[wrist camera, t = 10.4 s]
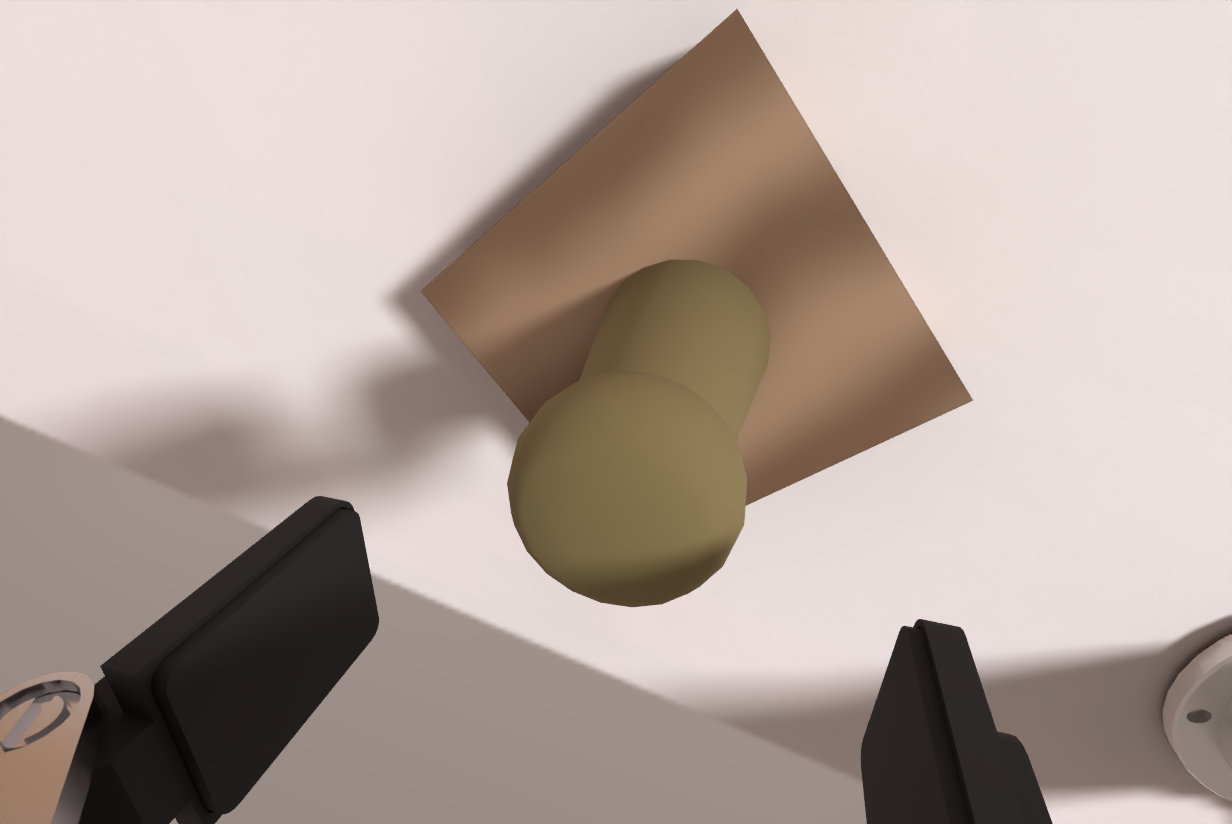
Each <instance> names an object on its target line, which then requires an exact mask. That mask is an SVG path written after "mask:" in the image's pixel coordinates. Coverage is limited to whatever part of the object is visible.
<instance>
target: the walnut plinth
mask: <svg viewBox="0 0 1232 824" xmlns="http://www.w3.org/2000/svg"><path fill="white" fill-rule="evenodd" d="M667 260H700V261H703V262H706V263H708V264H711V265H714V266H717V267H720V268H723V269H726V270H727V271H728V272H730V273H731V274H732V275H734V276H735V277H736V278H737V279H739V280H740V281H741V282H743V283H744V284H745V285H747V286H748V287H749V289H750V290H751V291H752V293H753V294H754V296H755V297H756V299H757V300H758V302H759V303H760V305H761V306H762V308H763V309H764V312H765V316H766V320H767V324H768V328H769V331H770V335H771V339H770V351H769V362H768V365H767V367H766V369H765V372H764V374H763V377H762V379H761V382H760V384H759V387H758V389H757V392H756V394H755V397H754V399H753V401H752V404H751V406H750V409H749V411H748V414H747V416H746V419H745V421H744V424H743V426H742V429H741V431H740V433H739V436H738V438H737V441H736V443H737V445H738V449H739V452H740V455H741V459H742V462H743V465H744V468H745V472H746V475H747V492H746V505H748V504H750V503H753V502H755V501H757V500H759V499H761V498H763V497H766V496H768V495H770V494H772V493H774V492H776V491H778V490H781V489H783V488H785V487H787V486H789V485H791V484H794V483H796V482H798V481H800V480H802V479H804V478H807V477H809V476H811V475H813V474H815V473H817V472H820V471H822V470H824V469H826V468H828V467H830V466H833V465H835V464H837V463H839V462H841V461H843V460H846V459H848V458H850V457H852V456H854V455H856V454H858V453H861V452H863V451H865V450H867V449H869V448H871V447H874V446H876V445H878V444H880V443H882V442H884V441H887V440H889V439H891V438H893V437H895V436H897V435H900V434H902V433H904V432H906V431H908V430H910V429H913V428H915V427H917V426H919V425H921V424H923V423H925V422H928V421H930V420H932V419H934V418H936V417H938V416H941V415H943V414H945V413H947V412H949V411H951V410H954V409H956V408H958V407H960V406H962V405H964V404H967V403H969V402H971V401H973V399H972V398H971V396H970V394H969V393H968V391H967V389H966V388H965V386H964V384H963V383H962V381H961V380H960V378H959V376H958V375H957V373H956V371H955V370H954V368H953V366H952V365H951V363H950V361H949V360H948V358H947V356H946V355H945V353H944V351H943V350H942V348H941V346H940V345H939V343H938V341H937V340H936V338H935V336H934V335H933V333H932V331H931V330H930V328H929V326H928V325H927V323H926V321H925V320H924V318H923V316H922V315H921V313H920V311H919V310H918V308H917V306H916V305H915V303H914V302H913V300H912V298H911V297H910V295H909V293H908V292H907V290H906V288H905V287H904V285H903V283H902V282H901V280H900V278H899V277H898V275H897V273H896V272H895V270H894V268H893V267H892V265H891V263H890V262H889V260H888V258H887V257H886V255H885V253H884V252H883V250H882V248H881V247H880V245H879V243H878V242H877V240H876V238H875V237H874V235H873V233H872V232H871V230H870V228H869V227H868V225H867V223H866V222H865V220H864V219H863V217H862V215H861V214H860V212H859V210H858V209H857V207H856V205H855V204H854V202H853V200H852V199H851V197H850V195H849V194H848V192H847V190H846V189H845V187H844V185H843V184H842V182H841V180H840V179H839V177H838V175H837V174H836V172H835V170H834V169H833V167H832V165H831V164H830V162H829V160H828V159H827V157H826V155H825V154H824V152H823V150H822V149H821V147H820V145H819V144H818V142H817V141H816V139H815V137H814V136H813V134H812V132H811V131H810V129H809V127H808V126H807V124H806V122H805V121H804V119H803V117H802V116H801V114H800V112H799V111H798V109H797V107H796V106H795V104H794V102H793V101H792V99H791V97H790V96H789V94H788V92H787V91H786V89H785V87H784V86H783V84H782V82H781V81H780V79H779V77H778V76H777V74H776V72H775V71H774V69H773V67H772V66H771V64H770V62H769V61H768V59H767V58H766V56H765V54H764V53H763V51H762V49H761V48H760V46H759V44H758V43H757V41H756V39H755V38H754V36H753V34H752V33H751V31H750V29H749V28H748V26H747V24H746V23H745V21H744V19H743V18H742V16H741V14H740V13H739V11H738V9H736V10H735V11H734V12H733V13H732V14H731V15H730V16H729V17H727V18H726V19H725V20H724V21H723V22H722V23H721V24H720V25H719V26H717V27H716V28H715V29H714V30H713V31H712V32H711V33H710V34H708V35H707V36H706V37H705V38H704V39H703V40H702V41H701V42H699V43H698V44H697V45H696V46H695V47H694V48H693V49H692V50H691V51H689V52H688V53H687V54H686V55H685V56H684V57H683V58H682V59H680V60H679V61H678V62H677V63H676V64H675V65H674V66H673V67H671V68H670V69H669V70H668V71H667V72H666V73H665V74H664V75H663V76H661V77H660V78H659V79H658V80H657V81H656V82H655V83H654V84H652V85H651V86H650V87H649V88H648V89H647V90H646V91H645V92H643V93H642V94H641V95H640V96H639V97H638V98H637V99H636V100H634V101H633V102H632V103H631V104H630V105H629V106H628V107H627V108H626V109H624V110H623V111H622V112H621V113H620V114H619V115H618V116H617V117H615V118H614V119H613V120H612V121H611V122H610V123H609V124H608V125H606V126H605V127H604V128H603V129H602V130H601V131H600V132H599V133H598V134H596V135H595V136H594V137H593V138H592V139H591V140H590V141H589V142H587V143H586V144H585V145H584V146H583V147H582V148H581V149H580V150H578V151H577V152H576V153H575V154H574V155H573V156H572V157H571V158H569V159H568V160H567V161H566V162H565V163H564V164H563V165H562V166H561V167H559V168H558V169H557V170H556V171H555V172H554V173H553V174H552V175H550V176H549V177H548V178H547V179H546V180H545V181H544V182H543V183H541V184H540V185H539V186H538V187H537V188H536V189H535V190H534V191H533V192H531V193H530V194H529V195H528V196H527V197H526V198H525V199H524V200H522V201H521V202H520V203H519V204H518V205H517V206H516V207H515V208H513V209H512V210H511V211H510V212H509V213H508V214H507V215H506V216H505V217H503V218H502V219H501V220H500V221H499V222H498V223H497V224H496V225H494V226H493V227H492V228H491V229H490V230H489V231H488V232H487V233H485V234H484V235H483V236H482V237H481V238H480V239H479V240H478V241H476V242H475V243H474V244H473V245H472V246H471V247H470V248H469V249H468V250H466V251H465V252H464V253H463V254H462V255H461V256H460V257H459V258H457V259H456V260H455V261H454V262H453V263H452V264H451V265H450V266H448V267H447V268H446V269H445V270H444V271H443V272H442V273H441V274H440V275H438V276H437V277H436V278H435V279H434V280H433V281H432V282H431V283H429V284H428V285H427V286H426V287H425V288H424V289H423V290H422V291H421V292H422V293H423V295H424V296H425V297H426V298H427V299H428V301H429V302H430V303H431V304H432V305H433V307H434V308H435V309H436V310H437V311H438V313H439V314H440V315H441V316H442V317H443V319H444V320H445V321H446V322H447V323H448V325H449V326H450V327H451V328H452V329H453V331H454V332H455V333H456V334H457V335H458V337H459V338H460V339H461V340H462V341H463V343H464V344H465V345H466V346H467V347H468V349H469V350H470V351H471V352H472V353H473V355H474V356H475V357H476V358H477V360H478V361H479V362H480V363H481V364H482V366H483V367H484V368H485V369H486V370H487V372H488V373H489V374H490V375H491V376H492V378H493V379H494V380H495V381H496V382H497V384H498V385H499V386H500V387H501V388H502V390H503V391H504V392H505V393H506V394H507V396H508V397H509V398H510V399H511V400H512V402H513V403H514V404H515V405H516V406H517V408H518V409H519V410H520V411H521V412H522V414H523V415H524V416H525V417H526V418H527V420H528V421H529V422H531V420H532V419H533V417H534V416H535V415H536V413H537V412H538V411H539V410H540V408H541V407H542V406H543V405H544V404H545V402H547V401H548V400H550V399H551V398H553V397H554V396H556V395H557V394H559V393H560V392H562V391H563V390H565V389H566V388H568V387H569V386H571V385H572V384H574V383H576V382H579V380H580V377H581V374H582V371H583V369H584V366H585V363H586V361H587V358H588V355H589V353H590V350H591V347H592V344H593V342H594V339H595V336H596V334H597V331H598V328H599V325H600V323H601V320H602V317H603V315H604V312H605V309H606V306H607V304H608V303H609V301H610V300H611V298H612V297H613V295H614V294H615V293H616V291H617V290H618V288H619V287H620V286H621V284H622V283H623V282H625V281H626V280H627V279H629V278H630V277H631V276H633V275H634V274H636V273H637V272H638V271H640V270H641V269H643V268H644V267H648V266H651V265H654V264H657V263H660V262H664V261H667ZM746 505H745V506H746Z"/></svg>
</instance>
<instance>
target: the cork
mask: <svg viewBox="0 0 1232 824" xmlns="http://www.w3.org/2000/svg"><path fill="white" fill-rule="evenodd" d="M770 339H771V335H770V331H769V328H768V324H767V320H766V316H765V312H764V309H763V308H762V306H761V305H760V303H759V302H758V300H757V299H756V297H755V296H754V294H753V293H752V291H751V290H750V289H749V287H748V286H747V285H745V284H744V283H743V282H741V281H740V280H739V279H737V278H736V277H735V276H734V275H732V274H731V273H730V272H728V271H727V270H726V269H723V268H720V267H717V266H714V265H711V264H708V263H706V262H703V261H700V260H667V261H664V262H660V263H657V264H654V265H651V266H648V267H644V268H643V269H641V270H640V271H638V272H637V273H636V274H634V275H633V276H631V277H630V278H629V279H627V280H626V281H625V282H623V283H622V284H621V286H620V287H619V288H618V290H617V291H616V293H615V294H614V295H613V297H612V298H611V300H610V301H609V303H608V304H607V306H606V309H605V312H604V315H603V317H602V320H601V323H600V325H599V328H598V331H597V334H596V336H595V339H594V342H593V344H592V347H591V350H590V353H589V355H588V358H587V361H586V363H585V366H584V369H583V371H582V374H581V377H580V380H579V382H576V383H574V384H572V385H571V386H569V387H568V388H566V389H565V390H563V391H562V392H560V393H559V394H557V395H556V396H554V397H553V398H551V399H550V400H548V401H547V402H545V404H544V405H543V406H542V407H541V408H540V410H539V411H538V412H537V413H536V415H535V416H534V417H533V419H532V420H531V422H530V423H529V425H528V426H527V427H526V429H525V430H524V432H523V433H522V434H521V436H520V437H519V439H518V441H517V445H516V449H515V453H514V457H513V461H512V465H511V469H510V474H509V478H508V482H507V486H508V493H509V501H510V508H511V514H512V518H513V521H514V525H515V527H516V529H517V532H518V534H519V536H520V538H521V540H522V542H523V544H524V546H525V548H526V550H527V552H528V553H529V554H530V555H531V556H532V557H533V559H534V560H535V561H536V562H537V563H538V564H539V565H540V566H541V568H542V569H543V570H544V571H545V572H546V573H547V574H548V575H550V576H551V577H552V578H554V579H555V580H557V581H558V582H560V583H561V584H563V585H564V586H566V587H567V588H568V589H570V590H571V591H573V592H576V593H578V594H581V595H583V596H586V597H588V598H591V599H593V600H596V601H598V602H601V603H607V604H614V605H620V606H627V607H639V606H649V605H659V604H663V603H666V602H668V601H671V600H673V599H676V598H678V597H681V596H683V595H686V594H688V593H690V592H691V591H693V590H695V589H696V588H698V587H700V586H701V585H702V584H703V583H704V582H705V581H707V580H708V579H709V578H710V577H711V576H712V575H713V574H715V573H716V572H717V571H718V570H719V569H720V568H721V567H723V565H724V563H725V561H726V559H727V557H728V555H729V553H730V551H731V549H732V547H733V545H734V544H735V542H736V540H737V538H738V536H739V534H740V532H741V530H742V528H743V526H744V518H745V505H746V492H747V475H746V472H745V468H744V465H743V462H742V459H741V455H740V452H739V449H738V445H737V443H736V441H737V438H738V436H739V433H740V431H741V429H742V426H743V424H744V421H745V419H746V416H747V414H748V411H749V409H750V406H751V404H752V401H753V399H754V397H755V394H756V392H757V389H758V387H759V384H760V382H761V379H762V377H763V374H764V372H765V369H766V367H767V365H768V362H769V351H770Z"/></svg>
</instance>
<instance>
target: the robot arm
mask: <svg viewBox="0 0 1232 824" xmlns="http://www.w3.org/2000/svg"><path fill="white" fill-rule="evenodd" d="M378 624H379V616H378V611H377V605H376V600H375V595H374V590H373V584H372V579H371V574H370V569H369V563H368V558H367V553H366V548H365V542H364V537H363V532H362V527H361V521H360V517H359V514H358V513H357V512H355V511H354V509H353V506H352V505H351V504H350V503H349V502H347V501H343V500H338V499H333V498H328V497H323V496H317V497H314V498H312V499H311V500H309V501H308V502H307V503H305V504H304V505H303V506H302V507H300V508H299V509H298V510H297V511H295V512H294V513H293V514H292V515H290V516H289V517H288V518H287V519H285V520H284V521H283V522H282V523H280V524H279V525H278V526H276V527H275V528H274V529H273V530H271V531H270V532H269V533H268V534H266V535H265V536H264V537H263V538H261V539H260V540H259V541H258V542H256V543H255V544H254V545H252V546H251V547H250V548H249V549H247V550H246V551H245V552H244V553H242V554H241V555H240V556H239V557H237V558H236V559H235V560H234V561H232V562H231V563H230V564H228V565H227V566H226V567H225V568H224V569H222V570H221V571H220V572H218V573H217V574H216V575H215V576H213V577H212V578H211V579H210V580H208V581H207V582H206V583H205V584H203V585H202V586H201V587H199V588H198V589H197V590H196V591H195V592H193V593H192V594H191V595H189V596H188V597H187V598H186V599H184V600H183V601H182V602H181V603H179V604H178V605H177V606H175V607H174V608H173V609H172V610H170V611H169V612H168V613H167V614H165V615H164V616H163V617H162V618H160V619H159V620H158V621H157V622H155V623H154V624H153V625H151V626H150V627H149V628H148V629H146V630H145V631H144V632H143V633H142V634H140V635H139V636H138V637H137V638H135V639H134V640H133V641H131V642H130V643H129V644H127V645H126V646H125V647H124V648H122V649H121V650H120V651H119V652H117V653H116V654H115V655H114V656H112V657H111V658H110V659H109V660H107V661H106V662H105V663H104V664H102V665H101V666H100V667H101V668H102V671H103V673H104V675H105V677H103V678H102V679H101V680H100V681H99V682H97V683H96V684H95V685H94V683H93V682H92V680H91V679H90V677H89V676H87V675H85V674H82V673H80V672H70V671H62V672H57V673H50V674H45V675H42V676H39V677H36V678H33V679H30V680H28V681H25V682H23V683H21V684H19V685H17V686H15V687H13V688H11V689H9V690H7V691H5V692H3V693H2V694H0V824H169V823H170V822H171V821H172V820H173V819H174V818H176V820H177V822H178V823H179V824H215V823H216V822H217V820H218V819H219V818H220V817H221V815H222V814H227V813H229V812H231V811H232V810H233V809H235V808H236V807H237V806H238V804H239V803H240V802H241V801H242V800H243V799H244V797H245V796H246V795H247V794H248V792H249V791H250V790H251V788H252V787H253V786H254V785H255V784H256V782H257V781H258V780H259V779H260V777H261V776H262V775H263V774H264V772H265V771H266V770H267V769H268V768H269V766H270V765H271V764H272V763H273V761H274V760H275V759H276V758H277V756H278V755H279V754H280V753H281V752H282V750H283V749H284V747H286V745H287V744H288V743H289V741H290V740H291V739H292V738H293V737H294V735H295V734H296V733H297V732H298V730H299V729H300V728H301V726H302V725H303V724H304V723H305V722H306V721H307V719H308V718H309V717H310V716H311V714H312V713H313V712H314V711H315V709H316V708H317V707H318V706H319V704H320V703H321V702H322V701H323V700H324V698H325V697H326V696H327V695H328V693H329V692H330V691H331V690H332V688H333V687H334V686H335V685H336V683H337V682H338V681H339V680H340V678H341V677H342V676H343V675H344V674H345V672H346V671H347V670H348V668H349V667H350V666H351V665H352V664H353V662H354V661H355V660H356V659H357V657H358V656H359V655H360V654H361V653H362V651H363V650H364V649H365V648H366V646H367V645H368V644H369V643H370V641H371V640H372V639H373V637H374V636H375V634H376V631H377V628H378ZM1162 712H1163V726H1164V731H1165V733H1166V735H1167V738H1168V740H1169V743H1170V745H1171V747H1172V748H1173V750H1174V751H1175V753H1176V754H1177V756H1178V757H1179V759H1180V760H1181V762H1182V764H1183V765H1184V767H1185V768H1186V770H1187V771H1188V772H1189V773H1190V774H1191V775H1192V776H1193V777H1194V778H1196V779H1197V780H1198V781H1199V782H1200V783H1201V784H1202V785H1203V786H1205V787H1206V788H1208V789H1210V790H1211V791H1213V792H1214V793H1216V794H1217V795H1219V796H1221V797H1222V798H1224V799H1227V800H1229V801H1231V802H1232V634H1230V635H1228V636H1226V637H1224V638H1222V639H1220V640H1218V641H1217V642H1216V643H1214V644H1213V645H1211V646H1210V647H1208V648H1207V649H1206V650H1204V651H1203V652H1201V653H1200V654H1198V655H1197V656H1196V657H1195V658H1194V659H1193V660H1192V661H1191V662H1190V663H1189V664H1188V665H1187V666H1186V667H1185V668H1184V669H1183V670H1182V671H1181V672H1180V673H1179V674H1178V676H1177V678H1176V679H1175V681H1174V682H1173V684H1172V686H1171V687H1170V689H1169V691H1168V692H1167V696H1166V699H1165V703H1164V707H1163V711H1162ZM861 770H862V780H863V790H864V800H865V809H866V819H867V824H1052V821H1051V818H1050V815H1049V813H1048V810H1047V807H1046V804H1045V802H1044V799H1043V796H1042V793H1041V791H1040V788H1039V785H1038V782H1037V780H1036V777H1035V774H1034V771H1033V769H1032V766H1031V763H1030V760H1029V757H1028V755H1027V753H1026V751H1025V749H1024V747H1023V745H1022V743H1021V742H1020V741H1019V740H1018V739H1017V737H1015V736H1013V735H1010V734H1006V733H1002V732H998V731H997V730H996V727H995V724H994V721H993V718H992V715H991V712H990V709H989V706H988V703H987V700H986V697H985V694H984V690H983V687H982V684H981V681H980V678H979V675H978V672H977V669H976V666H975V663H974V660H973V657H972V654H971V651H970V648H969V645H968V641H967V638H966V636H965V633H964V631H963V630H962V629H961V628H960V627H957V626H952V625H947V624H942V623H937V622H932V621H927V620H923V619H918V620H917V621H916V622H915V625H914V627H913V628H912V627H908V626H903V627H902V628H901V629H900V632H899V635H898V637H897V640H896V643H895V646H894V649H893V652H892V655H891V658H890V661H889V664H888V667H887V670H886V673H885V676H884V679H883V682H882V685H881V688H880V691H879V694H878V697H877V700H876V703H875V706H874V708H873V711H872V714H871V717H870V720H869V723H868V726H867V729H866V732H865V735H864V738H863V742H862V748H861Z"/></svg>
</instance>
